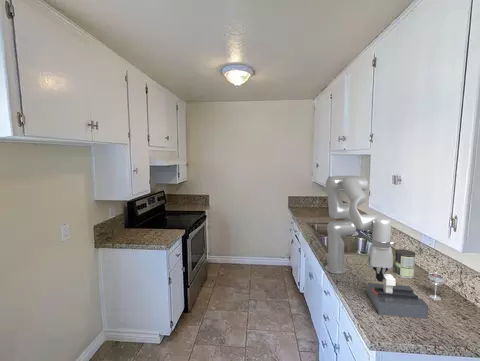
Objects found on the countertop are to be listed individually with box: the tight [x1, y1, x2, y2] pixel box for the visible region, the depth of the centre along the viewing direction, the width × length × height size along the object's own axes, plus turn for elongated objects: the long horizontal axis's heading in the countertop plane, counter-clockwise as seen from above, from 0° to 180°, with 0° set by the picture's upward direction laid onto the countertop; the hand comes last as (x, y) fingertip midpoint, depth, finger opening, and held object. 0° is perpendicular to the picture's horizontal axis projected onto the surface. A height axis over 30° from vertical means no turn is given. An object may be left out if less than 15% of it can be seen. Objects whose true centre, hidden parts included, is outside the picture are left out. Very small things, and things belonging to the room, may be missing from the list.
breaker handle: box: [382, 273, 397, 293], centre depth 127 cm, size 6×4×8 cm, turn 170°
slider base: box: [366, 282, 429, 320], centre depth 127 cm, size 18×20×7 cm
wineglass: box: [427, 271, 446, 301], centre depth 133 cm, size 7×7×12 cm
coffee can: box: [394, 248, 416, 279], centre depth 159 cm, size 10×10×14 cm
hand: (379, 280), depth 127 cm, fingers closed
